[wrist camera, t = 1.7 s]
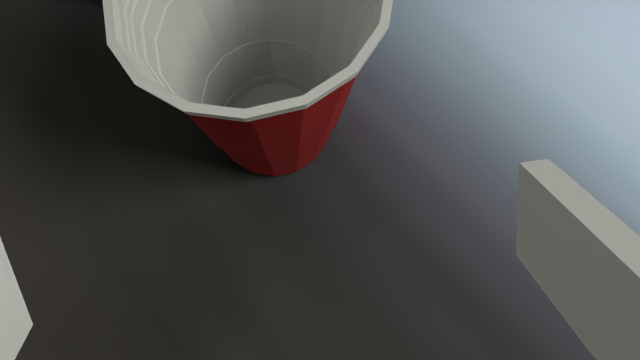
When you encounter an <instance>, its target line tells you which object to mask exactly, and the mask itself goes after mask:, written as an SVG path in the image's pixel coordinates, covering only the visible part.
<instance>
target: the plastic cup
mask: <svg viewBox="0 0 640 360" xmlns="http://www.w3.org/2000/svg"><path fill="white" fill-rule="evenodd" d="M392 4H393V0H103V10H104V20H105V30H106V39H107V45H108V46H109V48H110V49H111V51H112V52H113V54H114V55H115V56H116V58H117V59H118V61H119V62H120V64H121V65H122V67H123V68H124V69H125V71H126V72H127V74H128V75H129V77H130V78H131V80H132V81H133V82H134V84H135V85H137V86H138V87H140V88H141V89H143V90H145V91H146V92H148V93H150V94H152V95H154V96H155V97H157V98H159V99H161V100H163V101H164V102H166V103H168V104H170V105H172V106H173V107H175V108H177V109H179V110H180V111H182V112H184V113H186V114H187V115H188V116H189V117H190V118H191V119H192V120H193V121H194V123H195V124H196V125H197V126H198V127H199V128H200V129H201V130H202V131H203V132H204V133H205V134H206V135H207V136H208V137H209V138H210V139H211V140H212V141H213V142H214V143H215V145H216V146H217V147H219V148H220V149H222V150H224V151H225V152H226V154H227V155H228V156H229V157H230V158H231V159H232V160H233V161H234V162H236V163H237V164H239V165H241V166H242V167H244V168H246V169H247V170H249V171H251V172H253V173H256V174H263V175H269V176H280V175H284V174H289V173H294V172H296V171H298V170H299V169H301V168H303V167H304V166H306V165H307V164H309V163H310V162H312V161H313V160H314V159H315V158H316V157H317V155H318V154H319V152H320V151H321V149H322V148H323V147H324V145H325V144H326V142H327V140H328V138H329V136H330V133H331V131H332V129H333V128H334V126H335V125H336V123H337V122H338V119H339V117H340V114H341V112H342V109H343V107H344V105H345V102H346V100H347V97H348V95H349V92H350V90H351V88H352V85H353V83H354V80H355V78H356V76H357V74H358V73H359V72H360V70H361V69H362V67H363V65H364V64H365V62H366V61H367V59H368V58H369V57H370V55H371V54H372V52H373V51H374V49H375V48H376V47H377V45H378V44H379V42H380V41H381V39H382V38H383V36H384V35H385V33H386V31H387V30H388V28H389V23H390V17H391V10H392Z"/></svg>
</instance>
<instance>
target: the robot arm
mask: <svg viewBox="0 0 640 360" xmlns="http://www.w3.org/2000/svg"><path fill="white" fill-rule="evenodd" d="M516 255H517V256H518V258H519V259H520V260H521V262H522V263H523V264H524V266H525V267H526V268H527V270H528V271H529V272H530V274H531V275H532V276H533V278H534V279H535V280H536V281H537V283H538V284H539V285H540V287H541V288H542V289H543V291H544V292H545V293H546V295H547V296H548V297H549V299H550V300H551V301H552V303H553V304H554V305H555V306H556V308H557V309H558V310H559V312H560V313H561V314H562V316H563V317H564V318H565V320H566V321H567V322H568V324H569V325H570V326H571V328H572V329H573V330H574V332H575V333H576V334H577V335H578V337H579V338H580V339H581V341H582V342H583V343H584V345H585V346H586V347H587V349H588V350H589V351H590V353H591V354H592V355H593V357H594V358H595V359H596V360H640V236H639V235H638V234H636V233H635V232H634V231H633V230H632V229H631V228H629V227H628V226H627V225H626V224H625V223H624V222H622V221H621V220H620V219H619V218H618V217H616V216H615V215H614V214H613V213H612V212H611V211H609V210H608V209H607V208H606V207H605V206H604V205H602V204H601V203H600V202H599V201H598V200H596V199H595V198H594V197H593V196H592V195H591V194H589V193H588V192H587V191H586V190H585V189H583V188H582V187H581V186H580V185H579V184H578V183H576V182H575V181H574V180H573V179H572V178H571V177H569V176H568V175H567V174H566V173H565V172H563V171H562V170H561V169H560V168H559V167H558V166H556V165H555V164H554V163H553V162H552V161H550V160H549V159H543V160H536V161H529V162H521V163H519V186H518V213H517V239H516ZM32 326H33V323H32V321H31V318H30V315H29V313H28V310H27V307H26V305H25V302H24V299H23V297H22V294H21V291H20V289H19V286H18V283H17V281H16V278H15V275H14V273H13V270H12V267H11V265H10V262H9V259H8V257H7V254H6V251H5V249H4V246H3V243H2V241H1V238H0V360H15V358H16V356H17V354H18V352H19V350H20V348H21V347H22V345H23V343H24V341H25V339H26V337H27V335H28V333H29V331H30V330H31V328H32Z"/></svg>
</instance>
